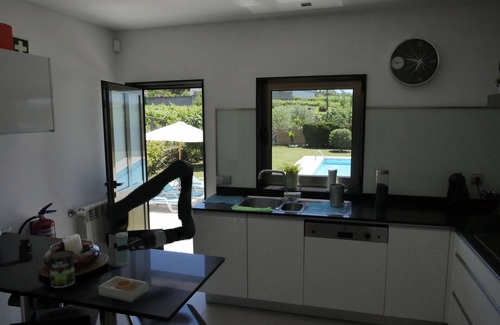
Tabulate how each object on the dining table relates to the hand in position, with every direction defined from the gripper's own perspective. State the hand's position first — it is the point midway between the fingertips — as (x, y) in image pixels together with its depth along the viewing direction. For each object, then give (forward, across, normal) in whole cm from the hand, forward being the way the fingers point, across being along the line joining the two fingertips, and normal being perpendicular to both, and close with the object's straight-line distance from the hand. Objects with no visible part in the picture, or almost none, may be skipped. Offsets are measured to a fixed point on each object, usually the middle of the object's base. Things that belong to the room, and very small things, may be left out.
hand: (115, 247), depth 154 cm
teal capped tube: (-3, 0, +6) cm, 7 cm away
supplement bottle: (+27, -71, +21) cm, 79 cm away
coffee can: (+17, -27, +21) cm, 38 cm away
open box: (-3, 0, +21) cm, 21 cm away
